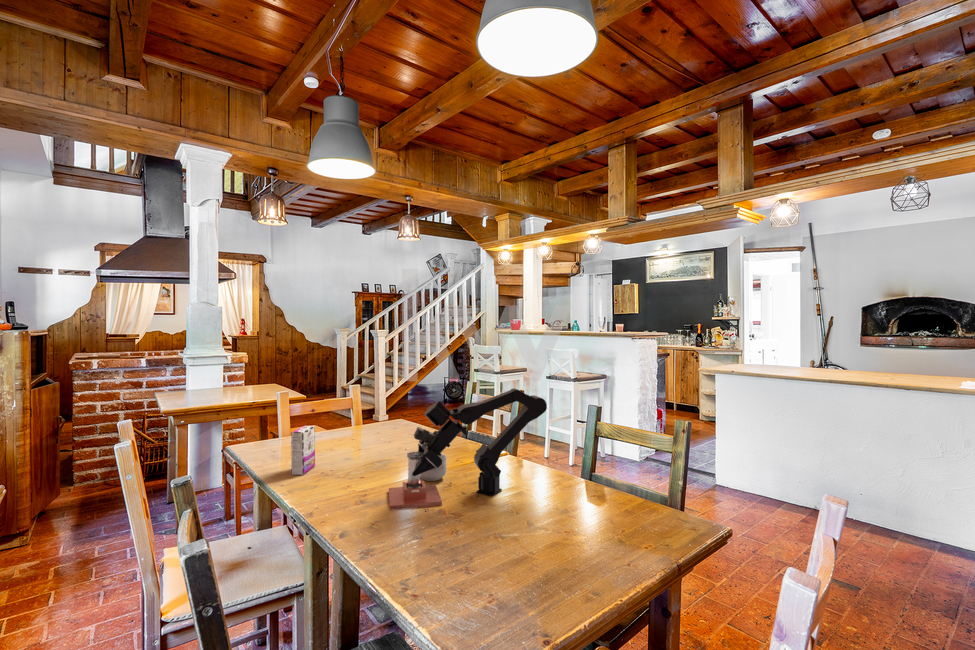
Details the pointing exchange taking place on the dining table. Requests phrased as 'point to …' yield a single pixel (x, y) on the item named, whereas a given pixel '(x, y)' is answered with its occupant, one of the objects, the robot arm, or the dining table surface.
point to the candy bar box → (303, 450)
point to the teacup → (436, 471)
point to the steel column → (413, 462)
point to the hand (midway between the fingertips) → (411, 470)
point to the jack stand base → (414, 496)
